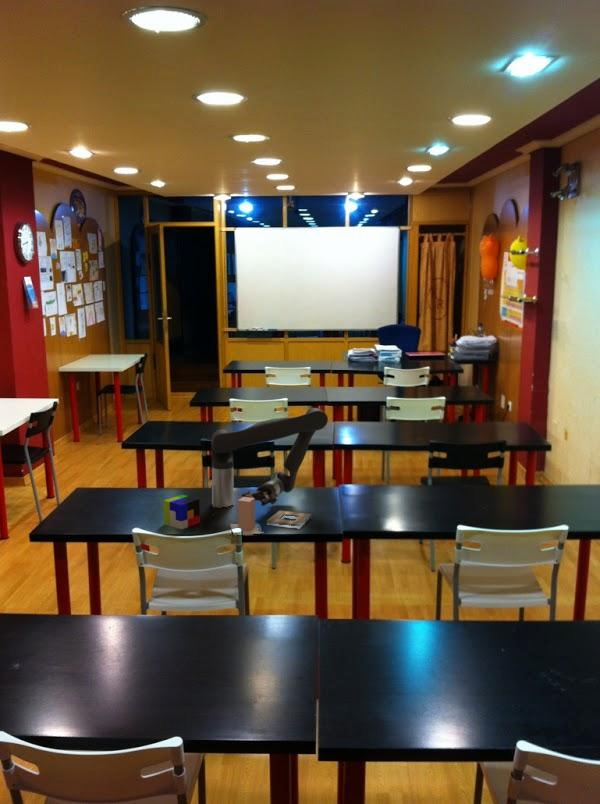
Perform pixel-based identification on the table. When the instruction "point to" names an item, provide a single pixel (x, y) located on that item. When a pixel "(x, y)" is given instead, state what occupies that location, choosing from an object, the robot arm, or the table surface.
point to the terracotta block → (246, 513)
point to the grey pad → (253, 531)
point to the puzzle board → (277, 520)
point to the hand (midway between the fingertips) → (252, 502)
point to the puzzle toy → (181, 511)
